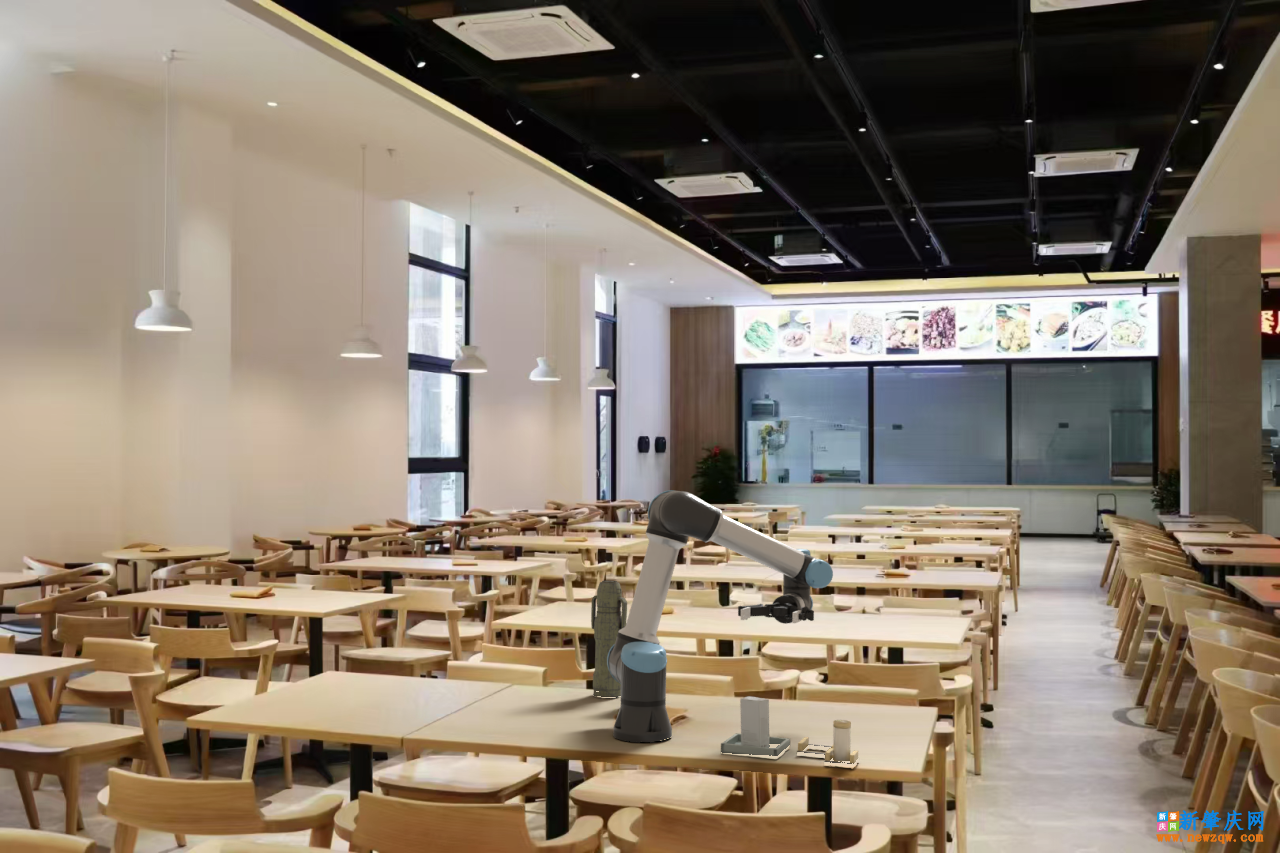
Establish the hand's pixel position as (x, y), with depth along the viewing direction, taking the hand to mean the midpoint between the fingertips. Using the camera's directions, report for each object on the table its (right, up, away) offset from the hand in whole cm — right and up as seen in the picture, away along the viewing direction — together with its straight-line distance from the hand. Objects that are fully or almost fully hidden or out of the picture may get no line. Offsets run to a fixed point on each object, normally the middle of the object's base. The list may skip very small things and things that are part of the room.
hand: (767, 616), depth 294 cm
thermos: (-43, -34, +59) cm, 80 cm away
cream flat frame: (+13, -31, -17) cm, 38 cm away
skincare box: (-4, -31, -10) cm, 33 cm away
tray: (-4, -31, -11) cm, 33 cm away
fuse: (+15, -31, -22) cm, 41 cm away
